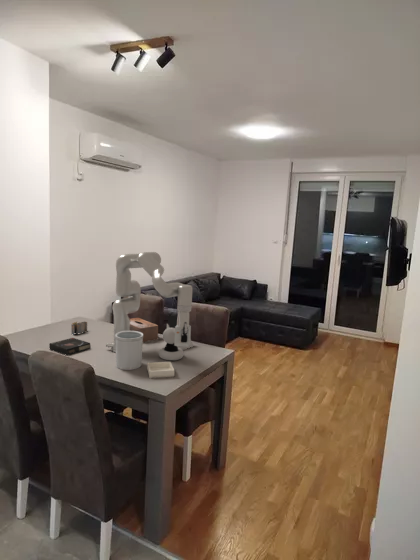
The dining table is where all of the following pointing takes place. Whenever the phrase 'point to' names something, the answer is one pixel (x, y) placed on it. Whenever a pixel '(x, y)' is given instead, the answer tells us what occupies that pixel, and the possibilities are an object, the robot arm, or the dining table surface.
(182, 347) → the white and black block
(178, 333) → the small box
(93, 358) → the dining table surface
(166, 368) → the tray
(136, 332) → the utensil holder
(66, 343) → the flat black printed box
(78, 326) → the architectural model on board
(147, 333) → the tissue box cover
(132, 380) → the dining table surface
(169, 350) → the decorative figurine
